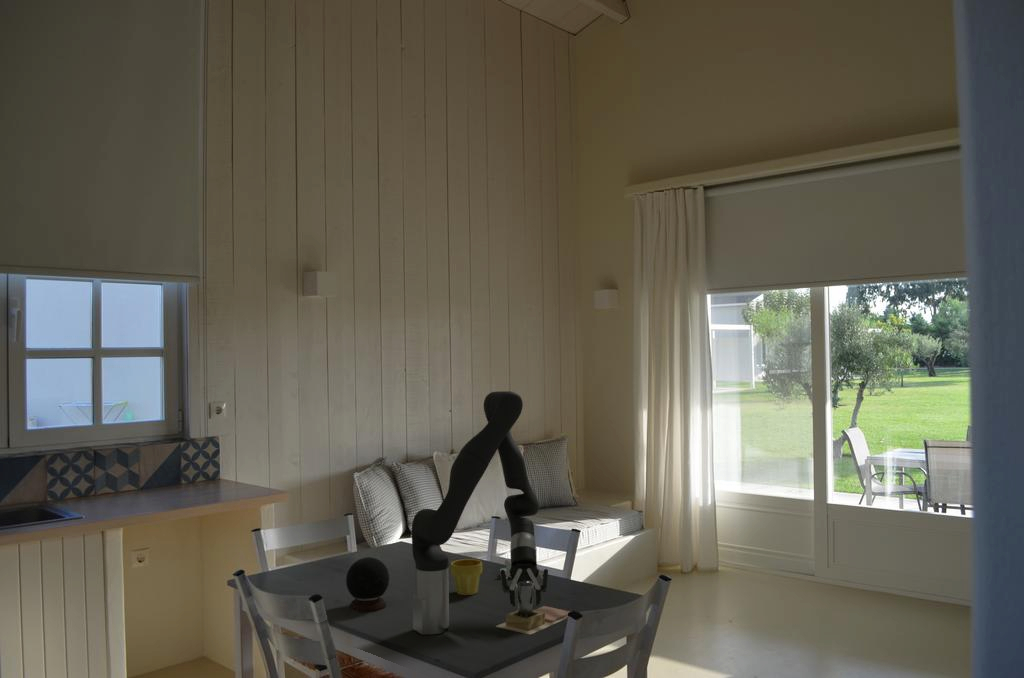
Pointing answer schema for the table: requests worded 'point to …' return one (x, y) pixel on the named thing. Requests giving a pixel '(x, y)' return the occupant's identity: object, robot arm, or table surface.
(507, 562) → the pacifier
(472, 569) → the plant pot
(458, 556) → the table surface
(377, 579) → the black ball on stand
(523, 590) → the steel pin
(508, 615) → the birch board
